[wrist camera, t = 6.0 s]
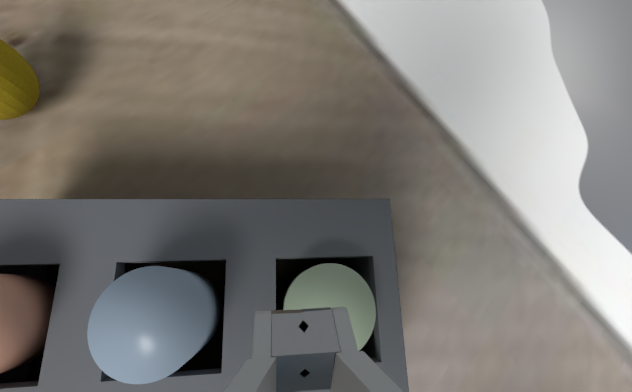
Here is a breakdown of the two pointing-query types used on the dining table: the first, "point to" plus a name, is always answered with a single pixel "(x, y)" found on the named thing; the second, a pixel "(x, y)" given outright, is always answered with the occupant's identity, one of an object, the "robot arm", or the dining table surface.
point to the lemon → (16, 84)
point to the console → (192, 246)
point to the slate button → (152, 323)
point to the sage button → (334, 296)
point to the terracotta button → (23, 318)
